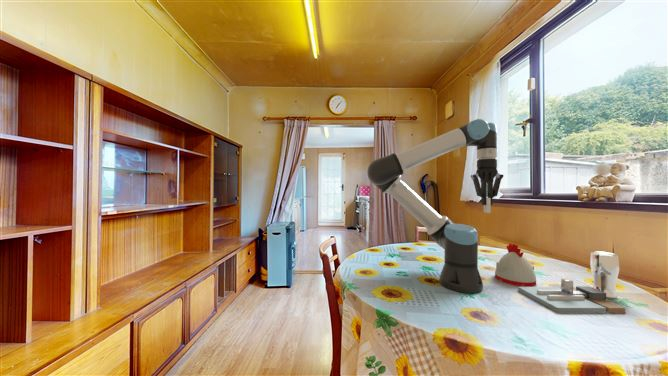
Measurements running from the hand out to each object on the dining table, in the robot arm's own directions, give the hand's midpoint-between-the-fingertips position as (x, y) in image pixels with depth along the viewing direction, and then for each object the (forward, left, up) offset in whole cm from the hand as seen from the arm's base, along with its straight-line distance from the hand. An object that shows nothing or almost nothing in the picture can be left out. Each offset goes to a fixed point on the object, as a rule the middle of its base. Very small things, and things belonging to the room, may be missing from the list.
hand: (487, 212), depth 107 cm
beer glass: (+31, -19, -28) cm, 46 cm away
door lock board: (+12, -24, -28) cm, 38 cm away
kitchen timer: (+9, -5, -28) cm, 30 cm away
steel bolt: (+16, -24, -26) cm, 39 cm away
